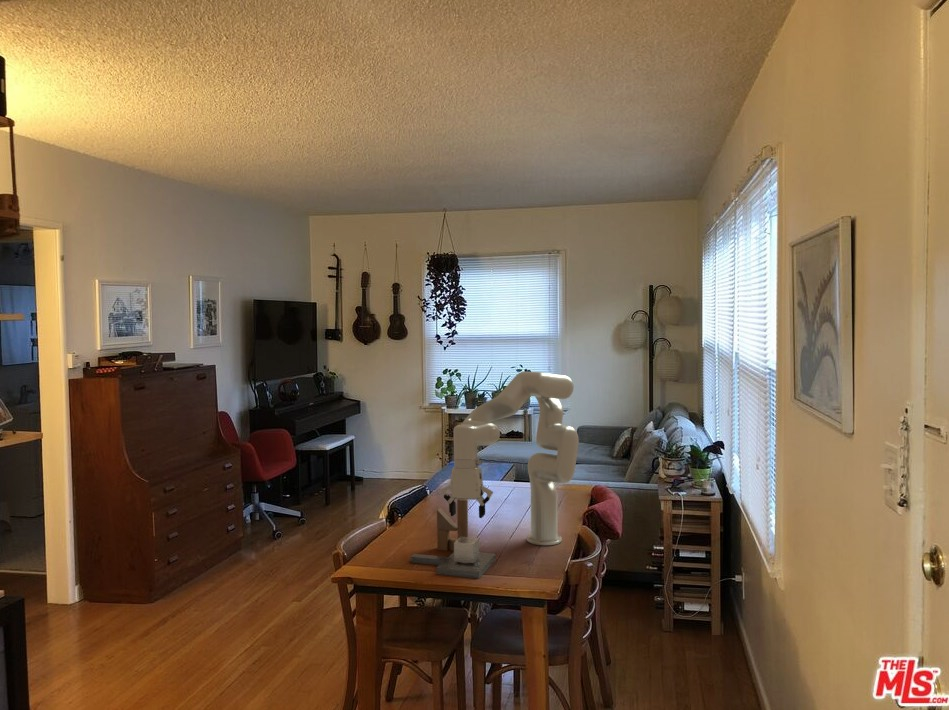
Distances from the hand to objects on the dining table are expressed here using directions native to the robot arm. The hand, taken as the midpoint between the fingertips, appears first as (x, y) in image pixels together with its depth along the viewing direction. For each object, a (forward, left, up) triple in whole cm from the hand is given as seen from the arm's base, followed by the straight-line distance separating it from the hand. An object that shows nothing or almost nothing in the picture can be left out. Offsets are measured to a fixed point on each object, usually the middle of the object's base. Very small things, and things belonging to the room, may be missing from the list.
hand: (467, 516), depth 221 cm
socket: (0, 0, -14) cm, 14 cm away
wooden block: (-15, -10, -17) cm, 24 cm away
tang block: (0, -6, -16) cm, 18 cm away
